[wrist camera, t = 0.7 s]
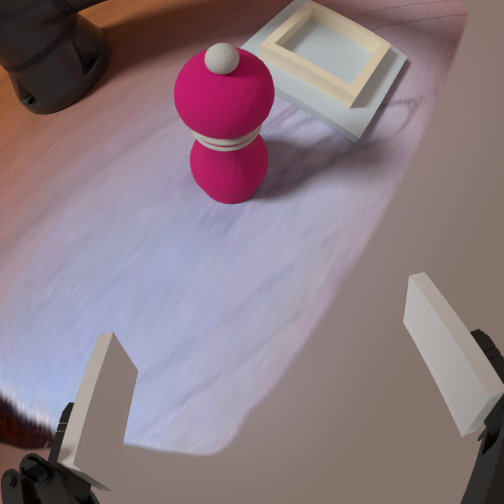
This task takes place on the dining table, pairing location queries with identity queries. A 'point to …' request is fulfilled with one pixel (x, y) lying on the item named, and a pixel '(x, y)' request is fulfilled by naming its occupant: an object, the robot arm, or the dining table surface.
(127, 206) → the dining table surface
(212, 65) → the pepper mill
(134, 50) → the dining table surface
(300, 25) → the board
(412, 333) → the robot arm
